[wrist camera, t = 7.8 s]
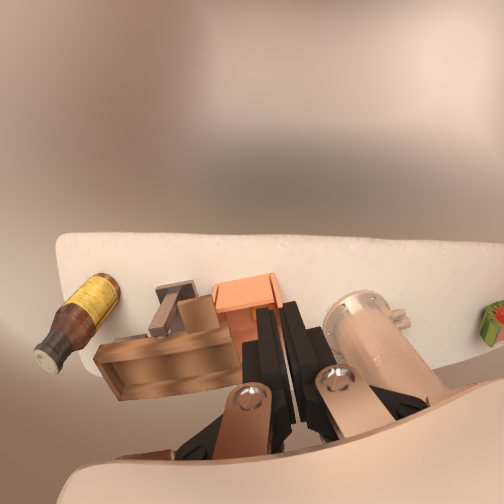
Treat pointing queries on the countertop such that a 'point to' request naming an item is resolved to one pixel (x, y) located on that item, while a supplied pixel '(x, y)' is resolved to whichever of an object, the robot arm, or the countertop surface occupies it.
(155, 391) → the brown wooden tray
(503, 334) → the fruit slice
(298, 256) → the countertop surface
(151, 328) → the stand
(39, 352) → the sauce bottle
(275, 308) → the ball
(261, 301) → the cup
